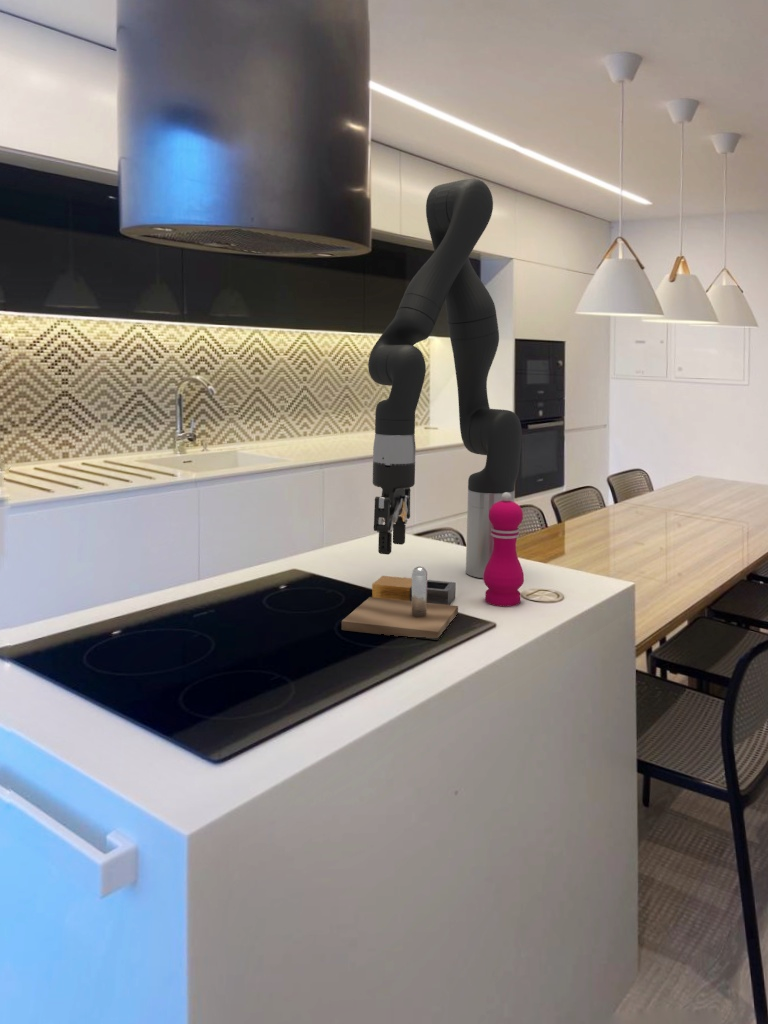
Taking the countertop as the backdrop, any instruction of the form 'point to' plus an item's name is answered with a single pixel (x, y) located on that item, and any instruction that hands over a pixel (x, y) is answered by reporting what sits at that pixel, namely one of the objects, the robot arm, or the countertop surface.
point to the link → (403, 590)
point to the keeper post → (419, 592)
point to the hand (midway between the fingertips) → (391, 548)
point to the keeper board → (399, 618)
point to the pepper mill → (504, 554)
